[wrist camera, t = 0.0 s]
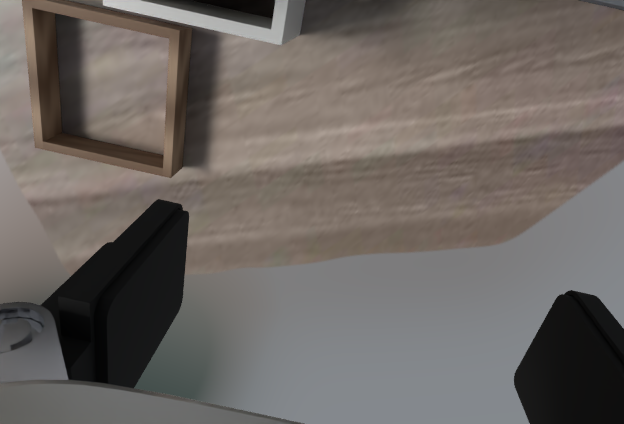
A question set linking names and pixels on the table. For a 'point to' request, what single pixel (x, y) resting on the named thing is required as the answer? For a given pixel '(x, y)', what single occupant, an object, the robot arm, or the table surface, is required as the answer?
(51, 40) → the walnut deck tray
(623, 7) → the pebble holder tray
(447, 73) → the table surface
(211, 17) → the grey open box
